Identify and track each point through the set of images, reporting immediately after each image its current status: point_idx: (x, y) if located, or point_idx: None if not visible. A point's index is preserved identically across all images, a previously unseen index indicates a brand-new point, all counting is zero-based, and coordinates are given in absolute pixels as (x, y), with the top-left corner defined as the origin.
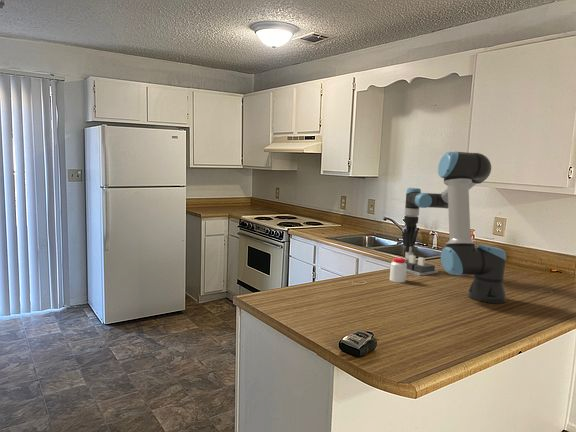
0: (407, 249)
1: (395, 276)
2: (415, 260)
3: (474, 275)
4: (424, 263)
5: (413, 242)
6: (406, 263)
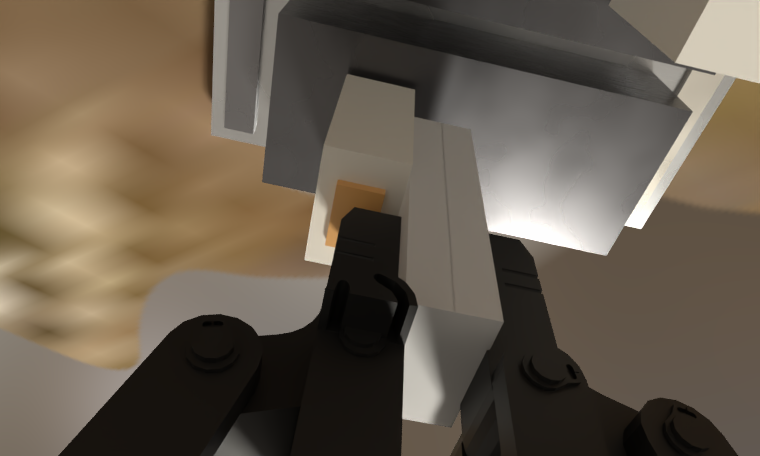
0: (543, 297)
1: None
2: (278, 41)
3: None
4: None
5: (222, 433)
6: None
